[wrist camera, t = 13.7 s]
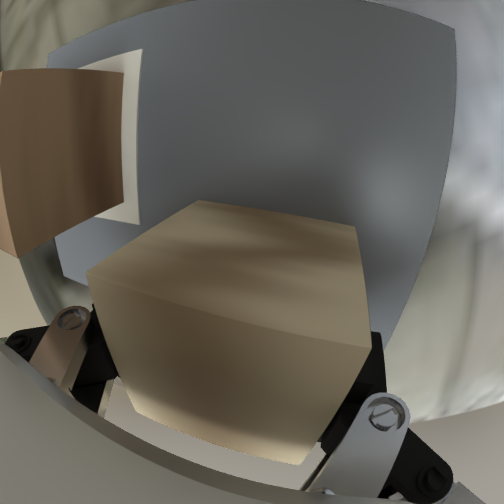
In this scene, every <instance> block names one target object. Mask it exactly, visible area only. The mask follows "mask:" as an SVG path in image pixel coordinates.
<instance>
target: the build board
mask: <svg viewBox="0 0 504 504" xmlns="http://www.w3.org/2000/svg"><path fill="white" fill-rule="evenodd" d="M47 68H65V69H88V70H101V71H112V72H121V73H124V80H123V95H122V124H121V147H122V177H123V194H124V203H121V204H119V205H117V206H115V207H113V208H111V209H108V210H106V211H104V212H102V213H100V214H98V215H96V216H94V217H92V218H90V219H88V220H86V221H84V222H82V223H80V224H78V225H76V226H74V227H72V228H70V229H68V230H67V231H65V232H63V233H61V234H59V235H57V236H55V241H56V246H57V250H58V254H59V258H60V262H61V266H62V270H63V274H64V276H66V277H68V278H70V279H72V280H75V281H77V282H79V283H82V284H84V285H86V286H89V285H88V281H87V277H86V273H85V272H87V271H88V270H90V269H91V268H92V267H94V266H95V265H97V264H98V263H99V262H101V261H102V260H104V259H105V258H107V257H108V256H110V255H111V254H113V253H114V252H116V251H117V250H119V249H120V248H122V247H123V246H125V245H126V244H128V243H129V242H131V241H132V240H134V239H135V238H137V237H138V236H140V235H141V234H143V233H145V232H146V231H148V230H149V229H151V228H152V227H154V226H156V225H157V224H159V223H161V222H162V221H164V220H165V219H167V218H169V217H170V216H172V215H174V214H175V213H177V212H179V211H180V210H182V209H184V208H185V207H187V206H189V205H191V204H192V203H194V202H196V201H197V200H202V201H209V202H217V203H223V204H230V205H237V206H243V207H250V208H256V209H262V210H268V211H274V212H280V213H286V214H292V215H297V216H303V217H308V218H314V219H319V220H324V221H329V222H335V223H340V224H345V225H350V226H354V227H355V228H356V233H357V238H358V244H359V249H360V255H361V261H362V267H363V274H364V281H365V288H366V293H367V301H368V309H369V318H370V327H371V331H374V332H380V333H381V337H382V344H383V351H384V349H385V347H386V345H387V343H388V341H389V339H390V337H391V335H392V333H393V331H394V329H395V327H396V325H397V323H398V320H399V318H400V316H401V314H402V312H403V309H404V307H405V305H406V302H407V300H408V298H409V295H410V293H411V290H412V288H413V285H414V283H415V280H416V278H417V275H418V272H419V269H420V267H421V264H422V261H423V258H424V255H425V252H426V249H427V246H428V243H429V240H430V237H431V233H432V230H433V226H434V223H435V219H436V216H437V212H438V208H439V204H440V200H441V196H442V191H443V187H444V182H445V177H446V172H447V167H448V161H449V155H450V149H451V142H452V134H453V125H454V115H455V102H456V41H455V29H453V28H451V27H449V26H446V25H444V24H441V23H439V22H436V21H433V20H431V19H428V18H425V17H422V16H419V15H416V14H413V13H410V12H407V11H403V10H400V9H396V8H392V7H388V6H384V5H380V4H376V3H371V2H366V1H361V0H195V1H189V2H184V3H180V4H175V5H171V6H167V7H163V8H159V9H155V10H151V11H148V12H145V13H141V14H138V15H135V16H132V17H129V18H126V19H123V20H120V21H118V22H115V23H112V24H110V25H107V26H105V27H102V28H100V29H97V30H95V31H93V32H91V33H88V34H86V35H84V36H82V37H80V38H78V39H76V40H73V41H71V42H70V43H68V44H66V45H64V46H62V47H60V48H58V49H56V50H55V51H53V52H51V53H49V54H48V61H47Z"/></svg>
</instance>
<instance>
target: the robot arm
mask: <svg viewBox="0 0 504 504" xmlns="http://www.w3.org/2000/svg"><path fill="white" fill-rule="evenodd" d="M366 295H367V293H366ZM367 303H368V301H367ZM92 307H93V311H91V312H89V310H88V309H86V308H85V307H82V306H72V307H68V308H65V309H63V310H62V311H60V312H59V313H58V314H57V315H56V317H55V318H54V320H53V321H52V323H51V325H49V326H43V327H36V328H30V329H24V330H19V331H16V332H14V333H13V334H11V335H10V336H9V337H8V338H7V337H4V338H0V504H485V503H484V502H483V501H482V500H480V499H479V498H478V497H477V496H476V495H474V494H473V493H472V492H471V491H470V490H469V489H467V488H466V487H465V486H464V485H463V484H461V483H460V482H457V483H454V482H453V473H452V470H451V468H450V466H449V465H448V464H447V463H446V462H445V461H444V460H443V459H442V458H441V457H440V456H439V455H438V454H436V453H435V452H434V451H433V450H432V449H431V448H430V447H429V446H428V445H427V444H426V443H424V442H423V441H422V440H421V439H420V438H419V437H418V436H417V435H416V434H415V433H414V432H412V431H411V430H410V429H409V428H408V426H409V423H410V412H409V409H408V407H407V405H406V403H405V402H404V401H403V400H402V399H401V398H399V397H397V396H396V395H394V394H390V393H387V387H386V374H385V363H384V353H383V344H382V337H381V333H380V332H374V331H371V327H370V332H371V344H372V349H371V351H370V353H369V355H368V357H367V359H366V361H365V363H364V365H363V366H362V368H361V370H360V372H359V374H358V376H357V378H356V380H355V381H354V383H353V385H352V387H351V388H350V390H349V392H348V394H347V395H346V397H345V399H344V400H343V402H342V404H341V405H340V407H339V409H338V410H337V412H336V414H335V415H334V417H333V418H332V420H331V421H330V423H329V424H328V426H327V428H326V429H325V431H324V432H323V433H322V435H321V436H320V438H319V439H318V441H317V442H321V448H322V449H323V451H324V452H325V455H324V456H323V458H322V459H321V461H320V462H319V464H318V465H317V466H316V468H315V469H314V471H313V472H312V473H311V475H310V476H309V477H308V479H307V480H306V481H305V483H304V484H303V485H302V486H301V488H300V489H299V490H294V489H288V488H282V487H277V486H272V485H267V484H263V483H259V482H254V481H250V480H247V479H243V478H239V477H236V476H232V475H229V474H226V473H222V472H219V471H216V470H213V469H210V468H207V467H205V466H202V465H199V464H196V463H194V462H191V461H188V460H186V459H183V458H181V457H178V456H176V455H174V454H171V453H169V452H167V451H164V450H162V449H160V448H158V447H156V446H154V445H152V444H149V443H147V442H145V441H143V440H141V439H140V438H138V437H136V436H134V435H132V434H130V433H128V432H126V431H124V430H123V429H121V428H119V427H117V426H115V425H114V424H112V423H110V422H109V421H107V420H105V419H104V416H105V412H106V408H107V404H108V401H109V397H110V393H111V389H112V386H113V382H114V379H115V378H116V377H117V375H118V377H120V376H119V373H118V371H117V369H116V366H115V364H114V361H113V359H112V356H111V353H110V351H109V348H108V346H107V343H106V340H105V337H104V334H103V331H102V329H101V326H100V322H99V319H98V316H97V313H96V310H95V307H94V303H93V304H92ZM368 312H369V309H368ZM369 321H370V318H369Z"/></svg>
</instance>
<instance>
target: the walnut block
mask: <svg viewBox="0 0 504 504" xmlns="http://www.w3.org/2000/svg"><path fill="white" fill-rule="evenodd" d="M123 80H124V73H121V72H112V71H101V70H88V69H65V68H43V69H21V70H8V71H2V72H1V73H0V249H1V250H3V251H5V252H7V253H9V254H10V255H12V256H14V257H16V258H19V257H21V256H23V255H24V254H26V253H28V252H29V251H31V250H33V249H34V248H36V247H38V246H40V245H41V244H43V243H45V242H46V241H48V240H50V239H52V238H54V237H55V236H57V235H59V234H61V233H63V232H65V231H67V230H68V229H70V228H72V227H74V226H76V225H78V224H80V223H82V222H84V221H86V220H88V219H90V218H92V217H94V216H96V215H98V214H100V213H102V212H104V211H106V210H108V209H111V208H113V207H115V206H117V205H119V204H121V203H124V194H123V177H122V147H121V124H122V95H123Z"/></svg>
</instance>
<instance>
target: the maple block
mask: <svg viewBox="0 0 504 504" xmlns="http://www.w3.org/2000/svg"><path fill="white" fill-rule="evenodd" d="M85 273H86V277H87V281H88V285H89V289H90V293H91V296H92V300H93V303H94V307H95V310H96V313H97V316H98V319H99V322H100V326H101V329H102V331H103V334H104V337H105V340H106V343H107V346H108V348H109V351H110V353H111V356H112V359H113V361H114V364H115V366H116V369H117V371H118V373H119V376H120V378H121V380H122V383H123V385H124V387H125V389H126V391H127V394H128V395H129V398H130V400H131V402H132V404H133V406H134V408H135V410H136V412H138V413H140V414H142V415H144V416H146V417H148V418H150V419H152V420H155V421H157V422H159V423H161V424H163V425H166V426H168V427H170V428H173V429H175V430H178V431H180V432H183V433H185V434H188V435H191V436H193V437H196V438H198V439H201V440H204V441H207V442H210V443H212V444H215V445H219V446H222V447H225V448H228V449H231V450H235V451H238V452H242V453H246V454H249V455H254V456H257V457H261V458H266V459H270V460H275V461H279V462H285V463H290V464H295V465H300V464H301V463H302V461H303V460H304V458H305V457H306V456H307V455H308V453H309V452H310V451H311V449H312V448H313V446H314V445H315V444H316V442H317V441H318V439H319V438H320V436H321V435H322V433H323V432H324V431H325V429H326V428H327V426H328V424H329V423H330V421H331V420H332V418H333V417H334V415H335V414H336V412H337V410H338V409H339V407H340V405H341V404H342V402H343V400H344V399H345V397H346V395H347V394H348V392H349V390H350V388H351V387H352V385H353V383H354V381H355V380H356V378H357V376H358V374H359V372H360V370H361V368H362V366H363V365H364V363H365V361H366V359H367V357H368V355H369V353H370V351H371V349H372V344H371V332H370V321H369V312H368V303H367V295H366V288H365V281H364V274H363V267H362V261H361V255H360V249H359V244H358V238H357V233H356V228H355V227H354V226H350V225H345V224H340V223H335V222H329V221H324V220H319V219H314V218H308V217H303V216H297V215H292V214H286V213H280V212H274V211H268V210H262V209H256V208H250V207H243V206H237V205H230V204H223V203H217V202H209V201H202V200H197V201H196V202H194V203H192V204H191V205H189V206H187V207H185V208H184V209H182V210H180V211H179V212H177V213H175V214H174V215H172V216H170V217H169V218H167V219H165V220H164V221H162V222H161V223H159V224H157V225H156V226H154V227H152V228H151V229H149V230H148V231H146V232H145V233H143V234H141V235H140V236H138V237H137V238H135V239H134V240H132V241H131V242H129V243H128V244H126V245H125V246H123V247H122V248H120V249H119V250H117V251H116V252H114V253H113V254H111V255H110V256H108V257H107V258H105V259H104V260H102V261H101V262H99V263H98V264H97V265H95V266H94V267H92V268H91V269H90V270H88V271H87V272H85Z"/></svg>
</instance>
